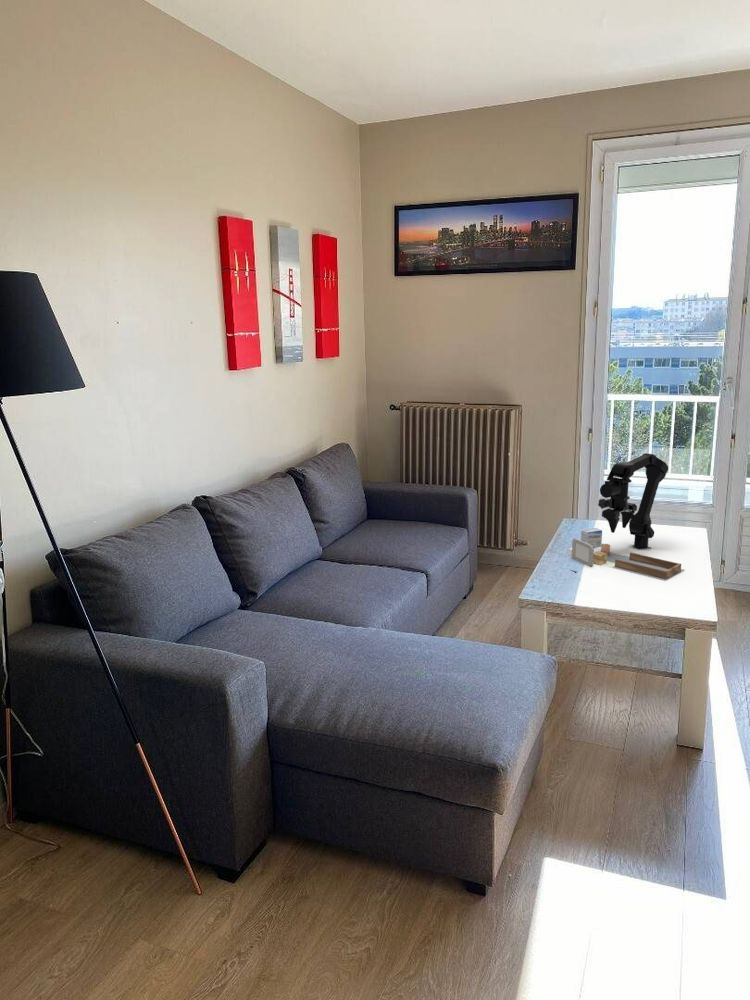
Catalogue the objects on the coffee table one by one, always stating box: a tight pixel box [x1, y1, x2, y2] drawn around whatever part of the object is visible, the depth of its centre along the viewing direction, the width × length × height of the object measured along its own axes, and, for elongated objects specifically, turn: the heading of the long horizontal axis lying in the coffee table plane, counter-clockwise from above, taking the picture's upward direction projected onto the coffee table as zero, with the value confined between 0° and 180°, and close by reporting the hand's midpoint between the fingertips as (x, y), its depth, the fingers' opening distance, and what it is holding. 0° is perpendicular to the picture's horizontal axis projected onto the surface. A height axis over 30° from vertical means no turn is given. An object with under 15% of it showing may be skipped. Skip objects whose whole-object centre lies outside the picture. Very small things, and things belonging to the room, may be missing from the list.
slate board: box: [599, 550, 686, 582], centre depth 304 cm, size 17×36×1 cm, turn 44°
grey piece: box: [570, 538, 595, 573], centre depth 306 cm, size 13×9×10 cm
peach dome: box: [600, 543, 611, 555], centre depth 317 cm, size 4×4×4 cm
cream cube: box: [568, 546, 572, 557], centre depth 318 cm, size 4×4×4 cm
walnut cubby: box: [615, 552, 682, 580], centre depth 299 cm, size 13×21×3 cm, turn 44°
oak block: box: [593, 551, 607, 566], centre depth 307 cm, size 4×4×4 cm
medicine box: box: [580, 527, 603, 549], centre depth 328 cm, size 8×4×9 cm, turn 112°
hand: (618, 530), depth 314 cm, fingers open, 9 cm apart
